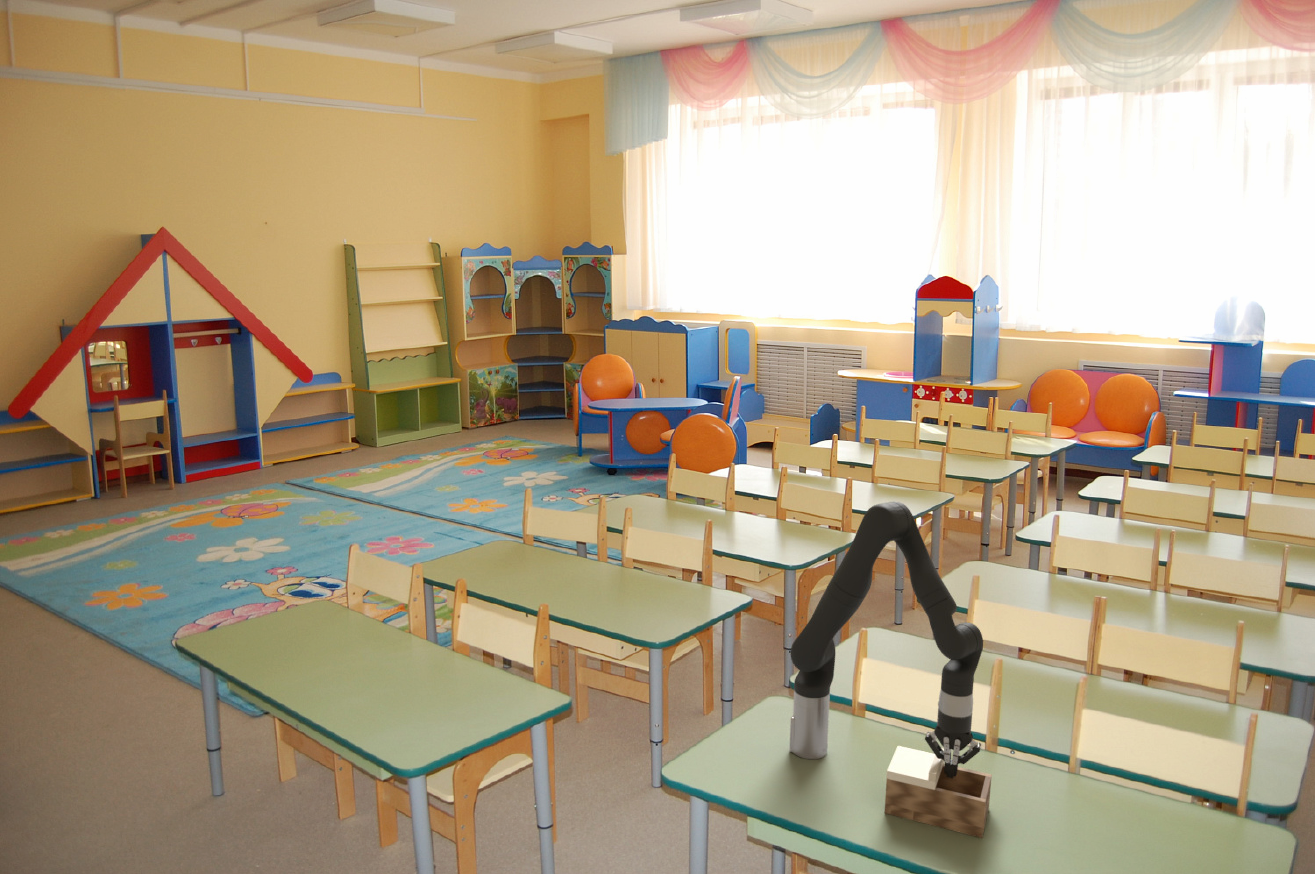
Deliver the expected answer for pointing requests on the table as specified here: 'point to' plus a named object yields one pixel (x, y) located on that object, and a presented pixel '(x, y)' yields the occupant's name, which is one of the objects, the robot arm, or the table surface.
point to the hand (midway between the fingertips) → (950, 776)
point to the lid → (915, 767)
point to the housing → (944, 801)
